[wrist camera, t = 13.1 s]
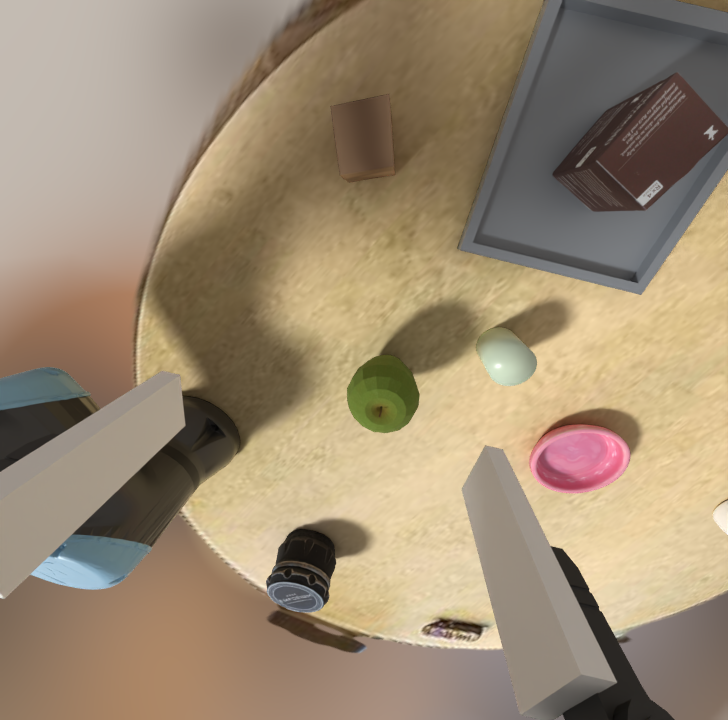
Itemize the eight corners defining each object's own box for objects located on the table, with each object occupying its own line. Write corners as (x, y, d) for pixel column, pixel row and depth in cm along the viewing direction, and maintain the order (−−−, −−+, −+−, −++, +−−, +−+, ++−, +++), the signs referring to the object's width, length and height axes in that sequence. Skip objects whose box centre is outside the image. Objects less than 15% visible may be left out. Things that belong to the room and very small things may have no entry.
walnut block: (349, 182, 30) (339, 175, 26) (342, 124, 28) (330, 106, 24) (395, 174, 29) (393, 166, 25) (391, 114, 27) (389, 93, 23)
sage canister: (470, 357, 37) (481, 379, 32) (485, 323, 35) (500, 341, 30) (506, 366, 37) (523, 390, 32) (524, 332, 35) (545, 352, 30)
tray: (457, 248, 32) (460, 250, 30) (547, -9, 23) (558, -27, 21) (628, 291, 31) (641, 294, 30) (791, 47, 22) (821, 34, 21)
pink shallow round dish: (528, 482, 46) (536, 499, 43) (519, 424, 41) (527, 439, 38) (615, 471, 43) (630, 488, 40) (616, 407, 38) (633, 421, 35)
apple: (413, 394, 41) (416, 451, 31) (356, 389, 42) (341, 444, 32) (419, 340, 37) (425, 385, 27) (357, 336, 38) (340, 378, 28)
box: (606, 107, 25) (680, 66, 18) (651, 153, 26) (736, 129, 19) (549, 175, 27) (594, 160, 21) (590, 214, 28) (647, 212, 22)
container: (322, 568, 65) (309, 622, 56) (274, 544, 64) (253, 596, 55) (349, 544, 60) (340, 600, 51) (297, 518, 58) (278, 571, 49)
